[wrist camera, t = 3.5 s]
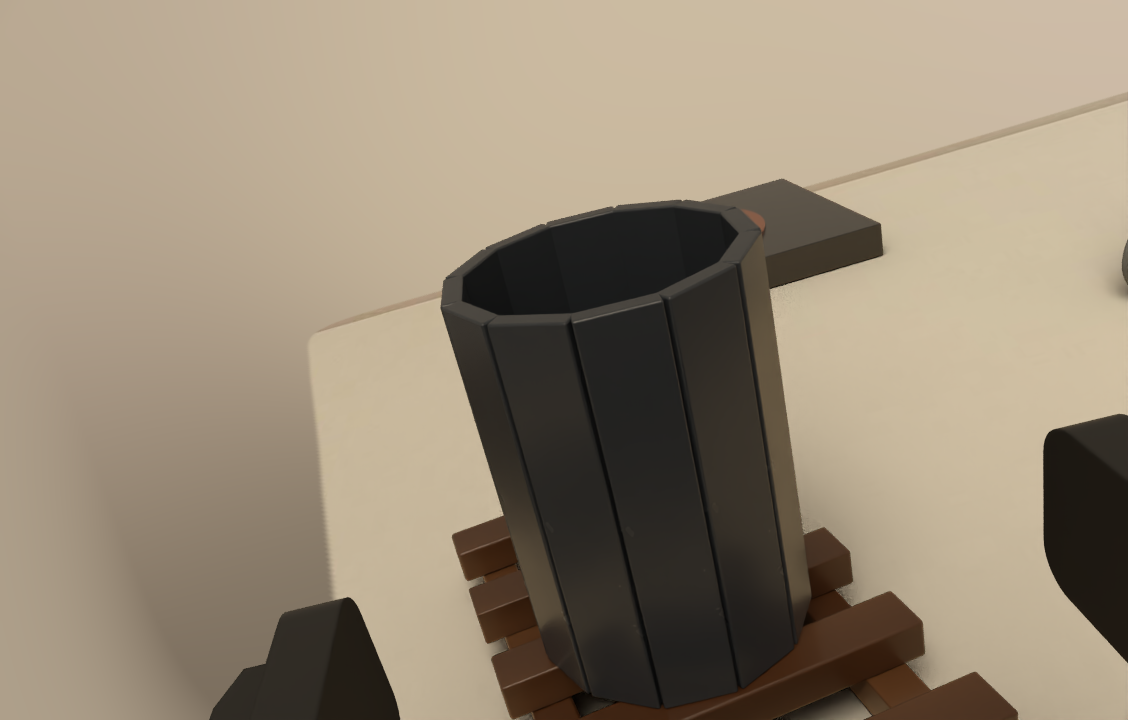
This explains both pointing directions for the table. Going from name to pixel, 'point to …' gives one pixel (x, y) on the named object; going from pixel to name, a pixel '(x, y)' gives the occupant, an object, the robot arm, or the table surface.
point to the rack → (806, 674)
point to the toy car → (1125, 263)
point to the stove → (804, 230)
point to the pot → (639, 444)
